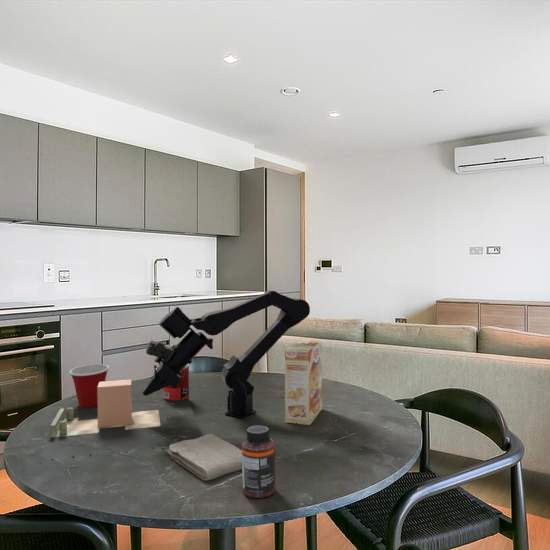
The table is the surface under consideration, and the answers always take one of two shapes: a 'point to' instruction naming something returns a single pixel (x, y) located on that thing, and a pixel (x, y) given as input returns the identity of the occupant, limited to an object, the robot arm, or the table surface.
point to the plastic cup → (88, 382)
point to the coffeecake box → (303, 382)
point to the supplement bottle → (258, 463)
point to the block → (114, 403)
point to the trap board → (76, 427)
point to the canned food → (179, 387)
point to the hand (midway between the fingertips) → (144, 394)
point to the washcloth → (207, 456)
